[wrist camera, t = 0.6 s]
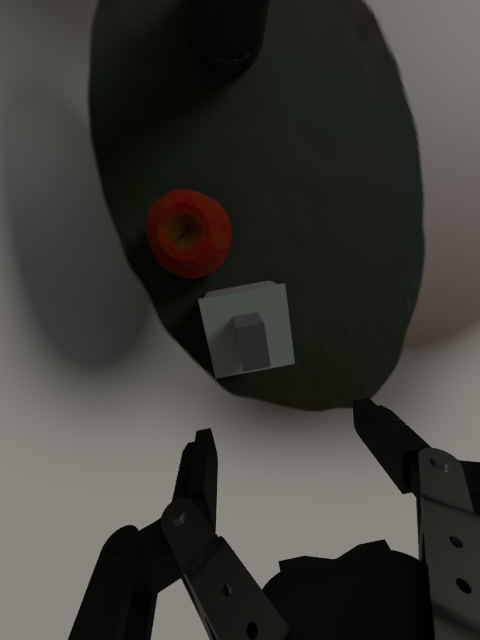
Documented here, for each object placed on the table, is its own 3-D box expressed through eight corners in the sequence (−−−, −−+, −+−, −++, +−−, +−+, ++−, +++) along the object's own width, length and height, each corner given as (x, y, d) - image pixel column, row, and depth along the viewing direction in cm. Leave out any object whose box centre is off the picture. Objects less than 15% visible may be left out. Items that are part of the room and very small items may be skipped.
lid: (200, 296, 30) (192, 308, 23) (280, 282, 30) (297, 289, 23) (216, 370, 33) (213, 401, 25) (289, 356, 33) (307, 383, 26)
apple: (142, 230, 33) (105, 216, 23) (201, 181, 32) (190, 145, 22) (189, 290, 36) (175, 302, 26) (246, 247, 35) (255, 242, 25)
